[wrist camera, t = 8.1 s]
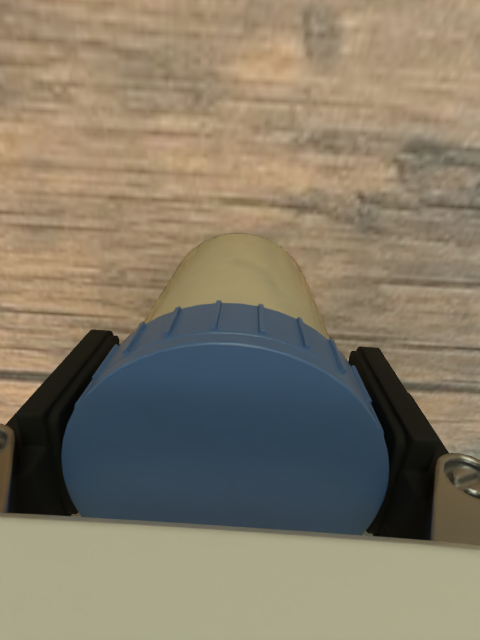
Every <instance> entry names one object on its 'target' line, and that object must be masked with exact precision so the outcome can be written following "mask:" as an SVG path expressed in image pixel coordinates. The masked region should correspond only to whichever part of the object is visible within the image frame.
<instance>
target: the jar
mask: <svg viewBox="0 0 480 640" xmlns="http://www.w3.org/2000/svg"><path fill="white" fill-rule="evenodd" d="M217 300H221V303H241V304H248V305H254V306H258V305H259V304H263V305H264V308H268V309H271V310H275V311H279V312H281V313H284V314H286V315H289V316H291V317H293V318H296V319H297V318H298V317H300V318H302V319H303V323H305V324H307V325H309V326H310V327H312V328H314V329H315V330H317V331H318V332H319V333H320V334H322V335H323V336H324V337H326V338H327V339H328V340H329V339H330V337H329V334H328V332H327V330H326V327H325V325H324V322H323V320H322V318H321V315H320V313H319V310H318V308H317V306H316V303H315V301H314V298H313V296H312V294H311V291H310V289H309V286H308V284H307V282H306V279H305V277H304V275H303V273H302V271H301V269H300V267H299V265H298V264H297V263H296V261H295V260H294V259H293V258H292V257H291V256H290V254H289V253H288V252H286V251H285V250H284V249H283V248H281V247H280V246H278V245H277V244H275V243H273V242H271V241H269V240H267V239H264V238H262V237H258V236H254V235H248V234H229V235H223V236H219V237H215V238H213V239H211V240H208V241H206V242H204V243H202V244H201V245H199V246H197V247H196V248H195V249H194V250H192V251H191V252H190V253H189V254H188V255H187V256H186V257H185V258H184V260H183V261H182V262H181V264H180V265H179V267H178V268H177V270H176V272H175V273H174V275H173V276H172V278H171V279H170V281H169V283H168V284H167V286H166V287H165V289H164V291H163V292H162V294H161V295H160V297H159V298H158V300H157V302H156V303H155V305H154V306H153V308H152V310H151V311H150V313H149V314H148V316H147V317H146V319H145V321H144V322H145V324H146V323H148V322H150V321H152V320H154V319H156V318H158V317H160V316H162V315H164V314H167V313H170V312H173V311H174V310H175V308H176V307H179V306H180V307H181V309H182V308H186V307H191V306H195V305H201V304H212V303H216V301H217Z"/></svg>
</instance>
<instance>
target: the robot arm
mask: <svg viewBox="0 0 480 640" xmlns="http://www.w3.org/2000/svg"><path fill="white" fill-rule="evenodd" d="M115 344H117V345H118V346H119V345H120V344H119V338H118V336H113V333H112V331H106V330H91V331H89V333H88V334H87V335H86V336H85V337H84V338H83V339H82V340H81V341H80V343H79V344H78V345H77V346H76V347H75V348H74V349H73V350H72V352H71V353H70V354H69V355H68V356H67V357H66V358H65V359H64V360H63V362H62V363H61V364H60V365H59V366H58V367H57V368H56V369H55V370H54V372H53V373H52V374H51V375H50V376H49V377H48V378H47V379H46V380H45V381H44V383H43V384H42V385H41V386H40V387H39V388H38V389H37V390H36V391H35V393H34V394H33V395H32V396H31V397H30V398H29V399H28V400H27V401H26V403H25V404H24V405H23V406H22V407H21V408H20V409H19V410H18V411H17V413H16V414H15V415H14V416H13V417H12V418H11V419H10V420H9V422H8V423H7V424H6V425H3V424H0V640H480V460H479V459H477V458H474V457H472V456H468V455H465V454H460V453H448V451H447V450H446V448H445V446H444V445H443V443H442V442H441V440H440V439H439V437H438V436H437V434H436V433H435V431H434V430H433V428H432V426H431V425H430V423H429V422H428V420H427V419H426V417H425V416H424V414H423V413H422V411H421V410H420V408H419V406H418V405H417V403H416V402H415V400H414V399H413V397H412V396H411V395H410V394H409V393H408V392H407V391H406V389H405V388H404V386H403V385H402V383H401V382H400V380H399V378H398V377H397V375H396V374H395V372H394V371H393V369H392V368H391V366H390V364H389V363H388V361H387V360H386V358H385V357H384V355H383V353H382V352H381V350H380V349H379V348H372V347H358V349H357V351H352V352H351V353H350V357H349V362H348V363H349V364H350V366H353V365H355V367H356V369H357V371H358V373H359V375H360V377H361V379H362V382H363V384H364V386H365V388H366V390H367V392H368V394H369V396H370V398H371V400H372V402H371V405H372V407H373V409H374V412H375V414H376V416H377V418H378V420H379V422H380V424H381V426H382V429H383V431H384V435H383V436H384V439H385V443H386V446H387V449H388V457H389V466H390V467H389V481H388V487H387V491H386V494H385V498H384V501H383V503H382V505H381V508H380V510H379V512H378V514H377V516H376V517H375V519H374V520H373V522H372V523H371V525H370V526H369V528H368V529H367V530H366V531H367V532H368V533H373V536H365V535H351V534H337V533H323V532H309V531H295V530H280V529H265V528H250V527H235V526H220V525H204V524H189V523H173V522H158V521H141V520H125V519H108V518H91V517H74V516H71V515H72V514H77V513H78V510H77V509H76V507H75V506H74V504H73V502H72V500H71V498H70V495H69V493H68V491H67V488H66V485H65V481H64V477H63V473H62V462H61V452H62V443H63V437H64V434H65V430H66V427H67V424H68V421H69V419H70V417H71V415H72V413H73V412H74V410H75V408H74V406H75V404H76V402H77V401H78V399H79V398H80V397H81V395H82V394H83V392H84V391H85V389H86V388H87V387H88V385H89V384H90V382H91V381H92V379H93V378H92V376H93V375H94V374H95V372H96V371H97V369H98V368H99V367H100V365H101V364H102V362H103V361H104V359H105V358H106V357H107V355H108V354H109V352H110V351H111V349H112V348H113V347H114V346H115Z"/></svg>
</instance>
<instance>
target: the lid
mask: <svg viewBox="0 0 480 640" xmlns="http://www.w3.org/2000/svg"><path fill="white" fill-rule="evenodd" d="M92 378H93V379H92V381H91V382H90V384H89V385H88V387H87V388H86V389H85V391H84V392H83V394H82V395H81V397H80V398H79V399H78V401H77V402H76V404H75V406H74V408H75V410H74V412H73V413H72V415H71V417H70V419H69V421H68V424H67V427H66V430H65V434H64V437H63V443H62V452H61V462H62V473H63V477H64V481H65V485H66V488H67V491H68V493H69V495H70V498H71V500H72V502H73V504H74V506H75V507H76V509H77V510H78V512H79V514H80V515H81V517H91V518H108V519H125V520H141V521H158V522H173V523H189V524H204V525H220V526H235V527H250V528H265V529H280V530H295V531H309V532H323V533H337V534H351V535H362V534H363V533H364V532H365V531H366V530H367V529H368V528H369V526H370V525H371V523H372V522H373V520H374V519H375V517H376V516H377V514H378V512H379V510H380V508H381V505H382V503H383V501H384V498H385V494H386V491H387V487H388V481H389V467H390V466H389V457H388V449H387V446H386V443H385V439H384V436H383V435H384V431H383V429H382V426H381V424H380V422H379V420H378V418H377V416H376V414H375V412H374V409H373V407H372V405H371V402H372V400H371V398H370V396H369V394H368V392H367V390H366V388H365V386H364V384H363V382H362V379H361V377H360V375H359V373H358V371H357V369H356V367H355V365H353V366H350V364H349V363H348V361H347V360H346V359H345V357H344V356H343V354H342V353H341V352H340V351H339V350H338V349H337V347H336V344H335V342H334V340H333V339H332V338H330V339H329V340H328V339H327V338H326V337H324V336H323V335H322V334H320V333H319V332H318V331H317V330H315V329H314V328H312V327H310V326H309V325H307V324H305V323H303V319H302V318H300V317H298V318H297V319H296V318H293V317H291V316H289V315H286V314H284V313H281V312H279V311H275V310H271V309H268V308H264V305H263V304H259V305H258V306H254V305H248V304H241V303H221V300H217V301H216V303H212V304H201V305H195V306H191V307H186V308H182V309H181V307H180V306H179V307H176V308H175V310H174V311H173V312H170V313H167V314H164V315H162V316H160V317H158V318H156V319H154V320H152V321H150V322H148V323H146V324H145V322H142V323H140V325H139V326H138V328H137V330H136V331H135V332H133V333H132V334H131V335H129V336H128V337H127V338H126V339H125V340H124V341H123V342H122V343H121V344H120V345H119V346H118V345H117V344H115V346H114V347H113V348H112V349H111V351H110V352H109V354H108V355H107V357H106V358H105V359H104V361H103V362H102V364H101V365H100V367H99V368H98V369H97V371H96V372H95V374H94V375H93V376H92Z"/></svg>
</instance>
